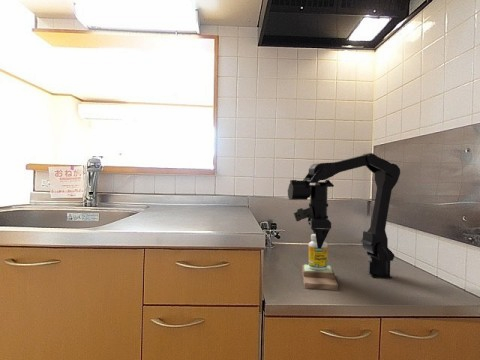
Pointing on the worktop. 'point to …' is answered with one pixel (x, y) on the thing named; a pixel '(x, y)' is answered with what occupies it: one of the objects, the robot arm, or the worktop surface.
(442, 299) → the worktop surface
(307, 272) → the step stand
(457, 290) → the worktop surface
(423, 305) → the worktop surface
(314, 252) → the supplement bottle
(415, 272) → the worktop surface
